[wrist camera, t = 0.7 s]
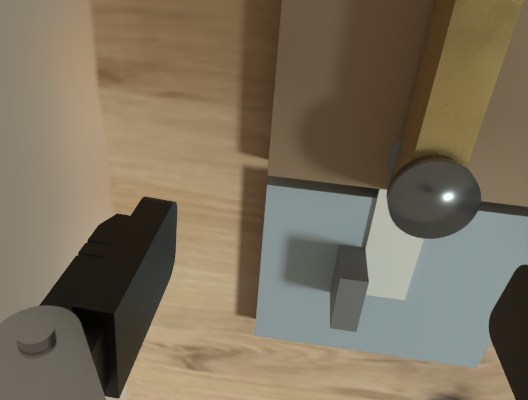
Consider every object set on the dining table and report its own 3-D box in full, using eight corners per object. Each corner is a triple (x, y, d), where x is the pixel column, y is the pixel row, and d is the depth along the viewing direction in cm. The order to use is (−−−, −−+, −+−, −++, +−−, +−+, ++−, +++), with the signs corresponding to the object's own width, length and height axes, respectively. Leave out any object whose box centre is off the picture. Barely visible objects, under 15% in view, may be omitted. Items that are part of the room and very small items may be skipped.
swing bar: (446, 200, 31) (465, 243, 27) (373, 191, 31) (380, 233, 27) (533, -60, 23) (579, -58, 18) (432, -68, 23) (455, -68, 19)
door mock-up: (640, -20, 25) (718, -7, 20) (470, 350, 42) (490, 409, 36) (288, -49, 27) (279, -44, 22) (257, 319, 43) (247, 371, 38)
